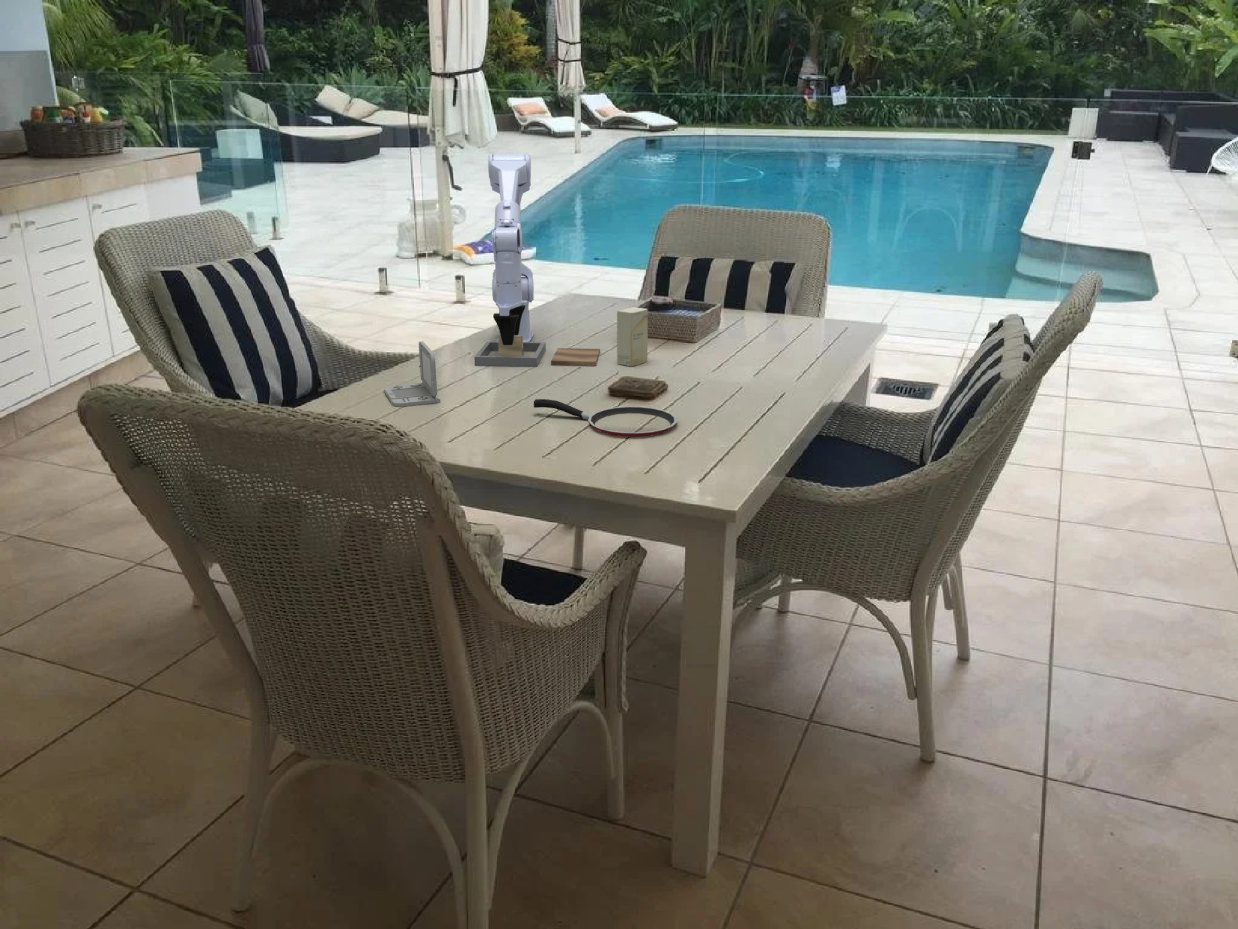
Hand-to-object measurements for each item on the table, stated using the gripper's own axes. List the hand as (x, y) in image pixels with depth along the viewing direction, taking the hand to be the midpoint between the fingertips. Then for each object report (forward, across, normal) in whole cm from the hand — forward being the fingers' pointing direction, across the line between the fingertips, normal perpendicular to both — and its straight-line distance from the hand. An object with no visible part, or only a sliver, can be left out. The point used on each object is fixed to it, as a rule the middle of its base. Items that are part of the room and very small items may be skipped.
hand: (510, 340), depth 241 cm
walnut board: (+4, 0, -15) cm, 16 cm away
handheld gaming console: (+4, -32, +15) cm, 36 cm away
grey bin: (+4, 0, 0) cm, 4 cm away
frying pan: (+5, -46, -25) cm, 53 cm away
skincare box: (+4, -2, -28) cm, 28 cm away
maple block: (+4, 0, 0) cm, 4 cm away
